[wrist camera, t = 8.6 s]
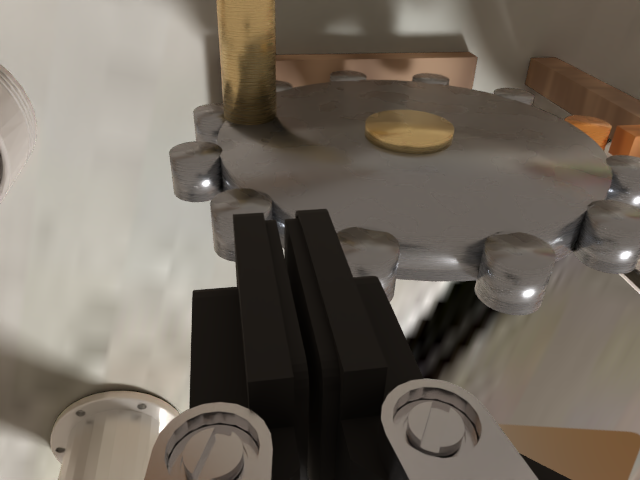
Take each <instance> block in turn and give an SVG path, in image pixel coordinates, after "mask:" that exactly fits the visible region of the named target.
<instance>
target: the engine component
mask: <svg viewBox="0 0 640 480" xmlns="http://www.w3.org/2000/svg"><path fill="white" fill-rule="evenodd" d="M36 139H37V121H36V117H35V112H34V109H33V106H32V104H31V101H30V100H29V98H28V96H27V94H26V93H25V91H24V89H23V88H22V86H21V85H20V84H19V83H18V82H17V80H16V79H15V78H14V77H13V75H12V74H10V73H9V72H8V71H7V70H6V69H5V68H4V67H2V66H1V65H0V203H1V202H2V200H3V199H4V197H5V196H6V194H7V193H8V191H9V190H10V188H11V186H12V185H13V183H14V182H15V180H16V178H17V177H18V175H19V174H20V172H21V170H22V169H23V167H24V166H25V164H26V162H27V161H28V159H29V157H30V155H31V154H32V152H33V150H34V146H35V143H36Z"/></svg>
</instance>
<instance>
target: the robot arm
mask: <svg viewBox="0 0 640 480" xmlns="http://www.w3.org/2000/svg"><path fill="white" fill-rule="evenodd" d="M233 229H234V245H235V261H236V277H237V287H228V288H216V289H204V290H193V297H192V333H191V372H190V409H188V410H186V411H184V412H183V413H181V414H179V413H178V411H177V410H176V409H174V408H173V407H172V406H171V405H170V404H168V403H166V402H165V401H163V400H161V399H159V398H157V397H154V396H151V395H149V394H144V393H140V392H133V391H109V392H103V393H97V394H94V395H91V396H87V397H84V398H82V399H80V400H78V401H76V402H74V403H73V404H71V405H70V406H69V407H67V408H66V409H65V410H64V411H63V412H62V413H61V414H60V415H59V416H58V418H57V420H56V422H55V424H54V426H53V430H52V433H51V443H50V444H51V449H52V452H53V454H54V455H55V457H56V458H57V460H58V461H59V462H60V463H61V464H62V465H61V469H60V474H59V478H58V480H307V468H308V474H309V480H571V479H569V478H567V477H565V476H563V475H561V474H559V473H557V472H555V471H553V470H551V469H549V468H547V467H545V466H543V465H541V464H539V463H537V462H535V461H533V460H531V459H529V458H527V457H526V456H524V455H522V454H520V453H518V451H517V450H516V448H515V447H514V446H513V444H512V443H511V442H510V440H509V439H508V438H507V436H506V435H505V433H504V432H503V431H502V429H501V428H500V427H499V425H498V424H497V423H496V421H495V420H494V418H493V417H492V416H491V414H490V413H489V412H488V410H487V409H486V408H485V406H484V405H483V404H482V403H481V402H480V401H479V400H478V399H477V398H476V397H475V396H474V395H472V394H471V393H469V392H468V391H466V390H464V389H463V388H461V387H460V386H457V385H454V384H451V383H449V382H446V381H442V380H434V379H423V376H422V374H421V372H420V370H419V367H418V365H417V363H416V361H415V358H414V356H413V354H412V352H411V349H410V347H409V345H408V343H407V340H406V338H405V336H404V334H403V332H402V329H401V327H400V325H399V323H398V320H397V318H396V316H395V314H394V311H393V309H392V307H391V305H390V302H389V300H388V298H387V296H386V293H385V291H384V289H383V287H382V284H381V282H380V281H379V279H378V277H376V276H363V277H353V275H352V273H351V270H350V267H349V265H348V262H347V259H346V257H345V254H344V252H343V249H342V246H341V244H340V241H339V238H338V236H337V233H336V231H335V228H334V225H333V223H332V220H331V218H330V215H329V212H328V210H327V209H312V210H296V213H295V219H285V223H284V249H285V259H284V254H283V249H282V245H281V240H280V236H279V231H278V226H277V222H276V220H265V218H264V213H246V214H233Z"/></svg>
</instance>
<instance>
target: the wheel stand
mask: <svg viewBox="0 0 640 480" xmlns="http://www.w3.org/2000/svg"><path fill="white" fill-rule="evenodd" d="M477 58H478V57H476V56H475V55H473V54H472V53H470V52H431V53H364V54H297V55H276V80H279V81H285V82H288V83H290V84H292V86H293V88H295V87H299V86H305V85H311V84H317V83H326V82H330V74H331V73H333V72H336V71H344V70H348V71H357V72H361V73H364V74H365V75H366V76H367V78H366V80H401V81H412V78H413V76H414V75H416V74H420V73H433V74H439V75H443V76H446V77H448V78H449V80H450V81H449V85H450V86H456V87H462V88H468V89H472V87H473V81H474V75H475V70H476V64H477ZM525 85H527V86H529V87H530V88H532V89H533V90H535V91H536V92H538V93H539V94H541V95H542V96H544V97H546V98H547V99H549V100H550V101H552V102H553V103H555V104H556V105H558V106H560V107H561V108H563V109H564V110H566V111H567V112H569V113H570V114H572V115H574V116H575V115H580V116H590V117H595V118H598V119H601V120H604V121H606V122H608V123H609V124H610V125H611V126H612V128H611V131H610V134H609V137H608V138H609V139H611V140H612V142H611V145H610V148H609V151H608V153H610V154H611V155H613V156H614V155H628V156H634V157H639V158H640V100H638V99H636V98H634V97H632V96H630V95H628V94H626V93H624V92H622V91H620V90H618V89H616V88H614V87H612V86H610V85H608V84H607V83H605V82H603V81H601V80H599V79H597V78H595V77H593V76H591V75H589V74H587V73H585V72H583V71H581V70H579V69H577V68H575V67H573V66H571V65H569V64H567V63H565V62H564V61H562V60H560V59H558V58H556V57H549V58H531V60H530V64H529V69H528V73H527V78H526V82H525Z"/></svg>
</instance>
